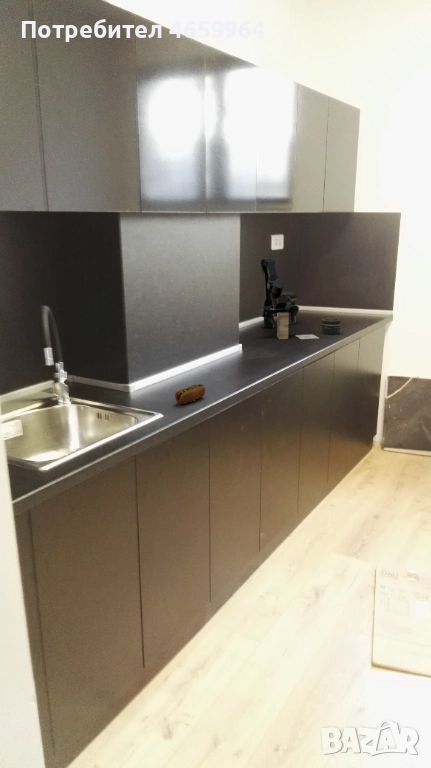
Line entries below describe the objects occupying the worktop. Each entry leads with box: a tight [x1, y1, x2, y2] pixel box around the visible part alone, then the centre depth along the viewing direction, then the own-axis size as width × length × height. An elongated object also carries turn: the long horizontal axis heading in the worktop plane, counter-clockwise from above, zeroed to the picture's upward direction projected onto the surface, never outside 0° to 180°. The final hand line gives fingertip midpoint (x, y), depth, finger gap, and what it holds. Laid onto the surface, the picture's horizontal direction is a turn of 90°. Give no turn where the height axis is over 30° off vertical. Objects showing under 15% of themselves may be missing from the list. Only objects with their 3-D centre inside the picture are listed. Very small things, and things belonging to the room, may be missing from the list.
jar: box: [320, 317, 341, 336], centre depth 310 cm, size 10×10×8 cm
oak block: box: [276, 313, 290, 340], centre depth 297 cm, size 4×4×13 cm
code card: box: [295, 334, 319, 340], centre depth 302 cm, size 10×10×1 cm
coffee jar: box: [282, 291, 298, 325], centre depth 339 cm, size 10×8×19 cm
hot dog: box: [174, 383, 206, 405], centre depth 198 cm, size 5×13×5 cm, turn 143°
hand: (283, 324), depth 297 cm, fingers open, 9 cm apart
